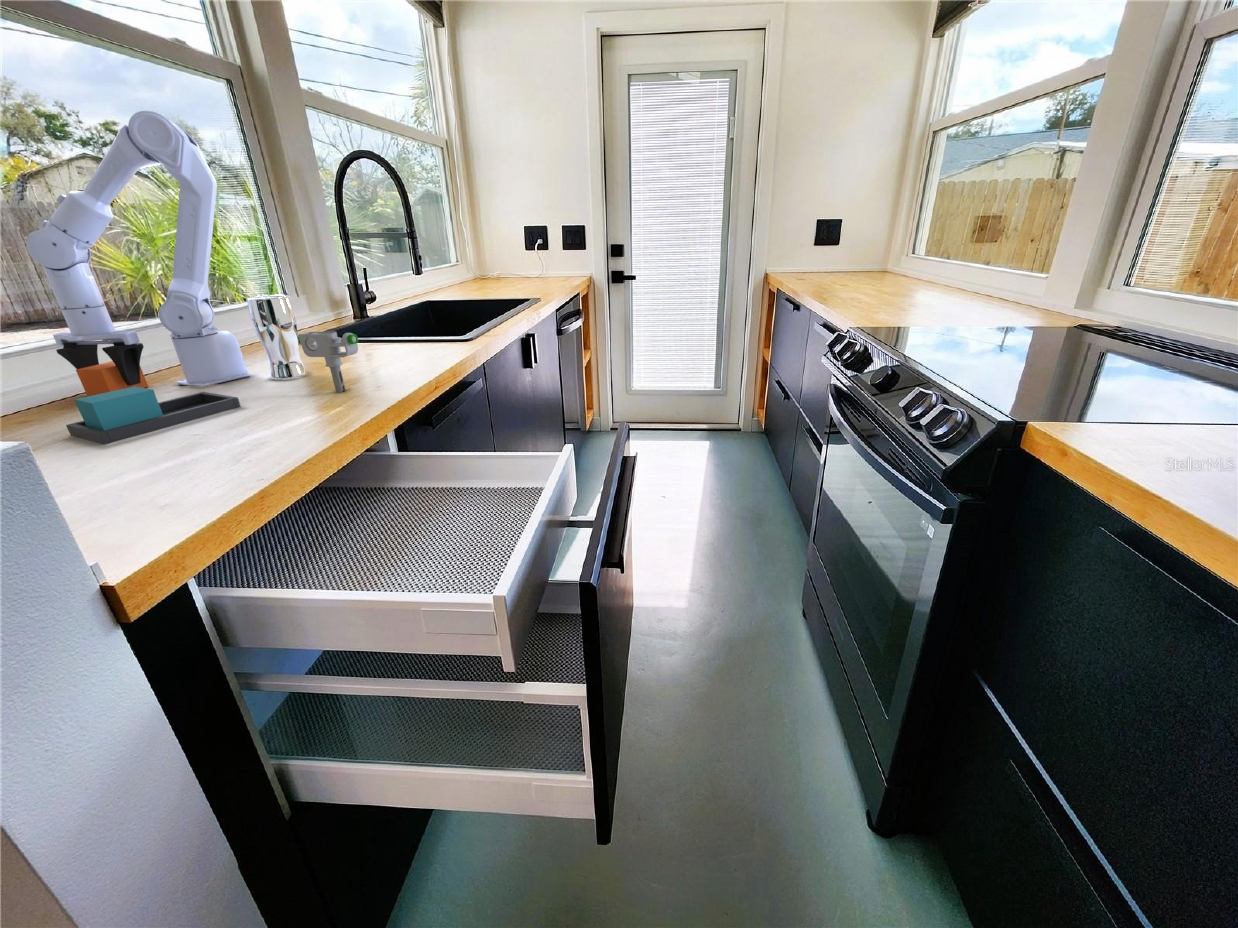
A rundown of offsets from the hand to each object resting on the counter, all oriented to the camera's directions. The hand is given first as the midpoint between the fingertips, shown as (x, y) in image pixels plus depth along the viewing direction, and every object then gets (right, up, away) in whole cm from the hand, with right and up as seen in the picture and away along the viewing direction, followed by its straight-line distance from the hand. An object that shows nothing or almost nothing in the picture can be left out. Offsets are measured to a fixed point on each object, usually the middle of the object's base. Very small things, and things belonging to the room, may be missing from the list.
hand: (115, 384), depth 97 cm
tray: (+24, -8, -18) cm, 31 cm away
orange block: (0, -1, +1) cm, 1 cm away
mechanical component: (+43, -2, -4) cm, 44 cm away
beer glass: (+27, +2, +7) cm, 28 cm away
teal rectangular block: (+22, -9, -21) cm, 32 cm away
